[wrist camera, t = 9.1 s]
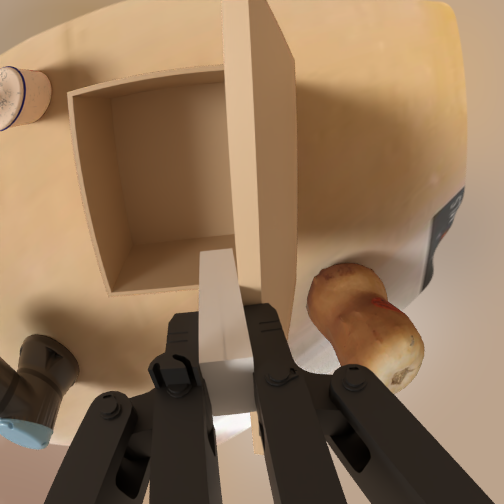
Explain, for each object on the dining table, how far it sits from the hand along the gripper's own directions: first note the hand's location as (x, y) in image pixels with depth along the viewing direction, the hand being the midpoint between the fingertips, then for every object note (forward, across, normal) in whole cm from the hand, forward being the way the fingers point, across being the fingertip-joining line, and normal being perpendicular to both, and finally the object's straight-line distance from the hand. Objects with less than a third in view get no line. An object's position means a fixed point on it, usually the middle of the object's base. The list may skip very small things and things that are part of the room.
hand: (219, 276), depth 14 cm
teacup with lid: (+32, +29, -15) cm, 46 cm away
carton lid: (+7, -4, 0) cm, 9 cm away
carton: (+32, +3, 0) cm, 32 cm away
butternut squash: (+32, -20, +23) cm, 44 cm away
